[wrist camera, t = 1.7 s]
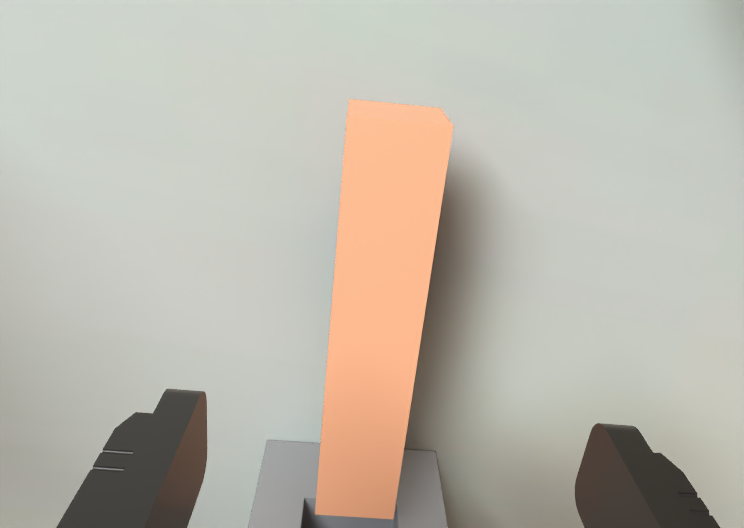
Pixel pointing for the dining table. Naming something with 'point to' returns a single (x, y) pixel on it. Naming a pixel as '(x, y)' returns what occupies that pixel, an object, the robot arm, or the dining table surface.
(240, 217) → the dining table surface
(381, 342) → the dowel
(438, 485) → the block
